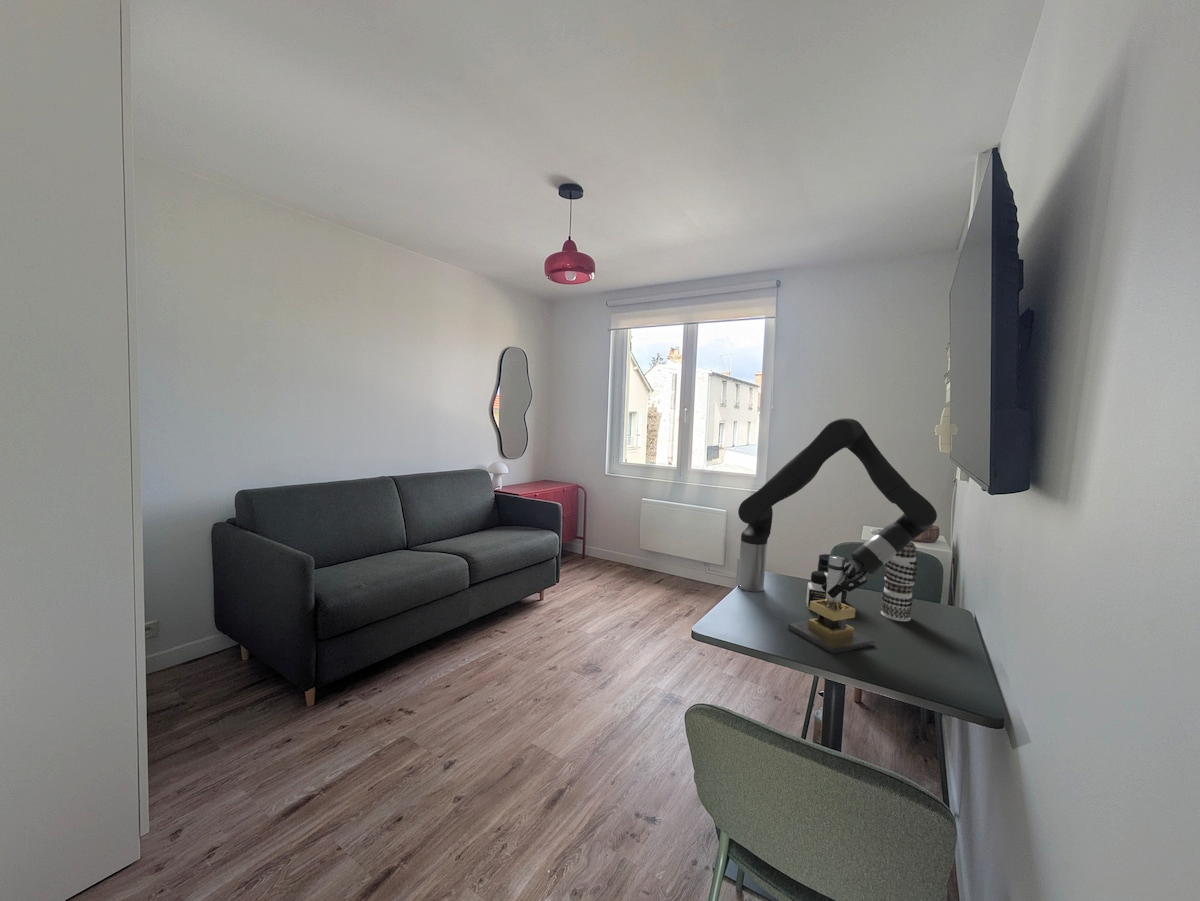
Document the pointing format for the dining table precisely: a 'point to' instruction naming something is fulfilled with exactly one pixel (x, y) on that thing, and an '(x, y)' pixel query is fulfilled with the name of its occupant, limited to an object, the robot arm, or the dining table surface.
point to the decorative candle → (899, 584)
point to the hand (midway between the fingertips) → (826, 592)
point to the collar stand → (831, 629)
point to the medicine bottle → (816, 587)
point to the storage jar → (824, 567)
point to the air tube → (832, 579)
